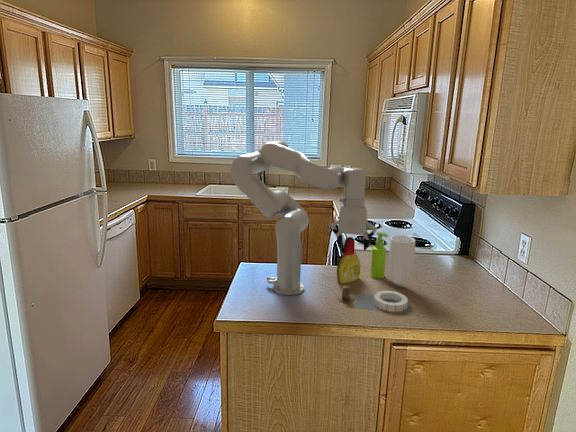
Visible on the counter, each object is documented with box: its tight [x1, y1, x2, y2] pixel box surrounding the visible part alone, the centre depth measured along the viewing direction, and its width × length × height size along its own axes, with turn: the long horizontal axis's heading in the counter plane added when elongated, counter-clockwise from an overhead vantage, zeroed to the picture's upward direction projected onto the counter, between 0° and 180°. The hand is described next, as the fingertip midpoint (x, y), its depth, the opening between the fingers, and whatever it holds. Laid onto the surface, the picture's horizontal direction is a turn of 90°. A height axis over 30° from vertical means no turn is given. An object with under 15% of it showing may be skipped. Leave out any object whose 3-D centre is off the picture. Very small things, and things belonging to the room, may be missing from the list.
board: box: [354, 293, 412, 315], centre depth 150 cm, size 20×12×1 cm, turn 79°
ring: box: [373, 290, 409, 313], centre depth 149 cm, size 12×12×2 cm
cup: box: [388, 234, 416, 285], centre depth 162 cm, size 10×10×22 cm
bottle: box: [336, 236, 361, 284], centre depth 168 cm, size 12×6×20 cm, turn 123°
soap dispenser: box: [369, 231, 390, 280], centre depth 174 cm, size 6×7×20 cm
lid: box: [336, 285, 355, 304], centre depth 152 cm, size 6×6×6 cm
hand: (352, 247), depth 148 cm, fingers open, 9 cm apart
